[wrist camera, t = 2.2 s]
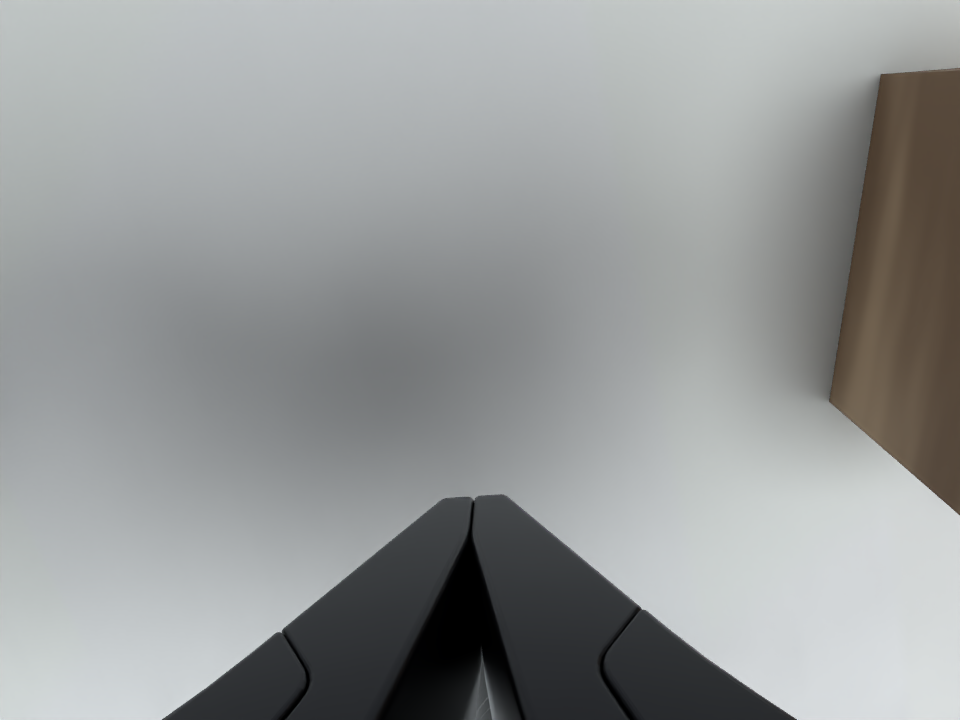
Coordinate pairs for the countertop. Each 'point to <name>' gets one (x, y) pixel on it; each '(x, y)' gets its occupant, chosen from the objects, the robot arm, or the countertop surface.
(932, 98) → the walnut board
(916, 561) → the countertop surface
